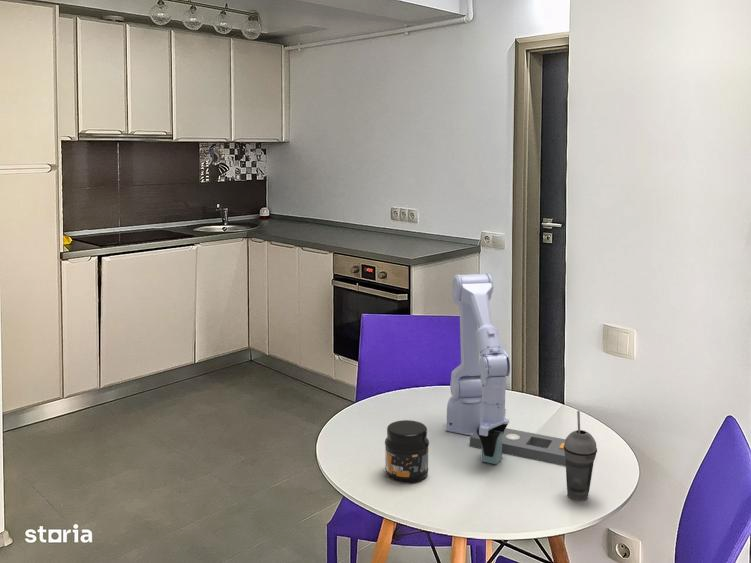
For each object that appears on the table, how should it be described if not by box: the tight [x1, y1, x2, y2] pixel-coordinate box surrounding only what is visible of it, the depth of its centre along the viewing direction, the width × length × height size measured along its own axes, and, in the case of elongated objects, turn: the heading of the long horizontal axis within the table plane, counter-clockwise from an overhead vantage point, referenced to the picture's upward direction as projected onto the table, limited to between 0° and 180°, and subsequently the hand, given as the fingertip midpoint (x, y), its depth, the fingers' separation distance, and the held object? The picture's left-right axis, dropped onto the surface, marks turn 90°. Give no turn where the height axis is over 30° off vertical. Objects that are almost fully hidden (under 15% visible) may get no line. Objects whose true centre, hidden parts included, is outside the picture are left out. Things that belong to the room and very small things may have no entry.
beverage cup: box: [564, 410, 598, 502], centre depth 160 cm, size 7×7×20 cm
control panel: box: [469, 427, 566, 467], centre depth 186 cm, size 26×10×3 cm, turn 62°
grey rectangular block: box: [480, 430, 503, 465], centre depth 179 cm, size 4×4×7 cm
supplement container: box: [384, 419, 430, 484], centre depth 172 cm, size 10×10×12 cm
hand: (491, 452), depth 179 cm, fingers closed on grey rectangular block, 4 cm apart
